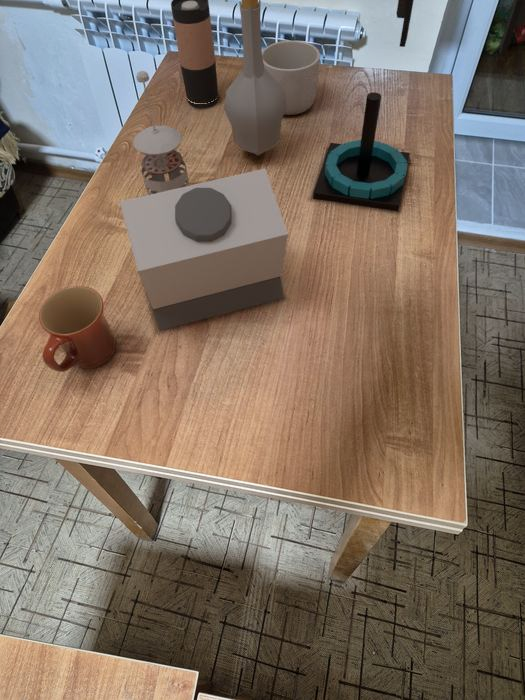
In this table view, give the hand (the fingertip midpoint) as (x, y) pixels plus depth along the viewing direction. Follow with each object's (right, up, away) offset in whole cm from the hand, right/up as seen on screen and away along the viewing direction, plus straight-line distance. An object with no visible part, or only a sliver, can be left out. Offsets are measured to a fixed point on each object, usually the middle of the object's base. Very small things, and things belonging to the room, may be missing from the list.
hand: (452, 46), depth 72 cm
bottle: (-28, -3, +33) cm, 43 cm away
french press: (-44, -15, +26) cm, 53 cm away
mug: (-53, -44, +6) cm, 69 cm away
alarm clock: (-35, -33, +13) cm, 50 cm away
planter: (-21, +12, +43) cm, 49 cm away
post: (-7, -9, +27) cm, 30 cm away
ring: (-7, -9, +26) cm, 28 cm away
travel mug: (-40, +15, +46) cm, 63 cm away
